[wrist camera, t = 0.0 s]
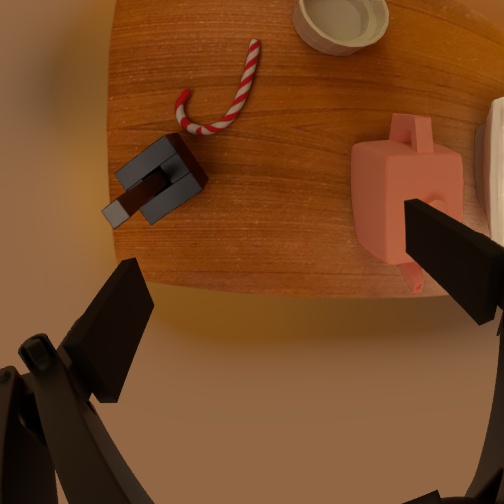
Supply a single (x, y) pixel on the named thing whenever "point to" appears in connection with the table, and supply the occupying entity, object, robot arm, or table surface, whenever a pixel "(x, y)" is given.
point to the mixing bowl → (340, 24)
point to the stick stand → (175, 167)
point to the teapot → (402, 188)
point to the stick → (134, 199)
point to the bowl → (491, 169)
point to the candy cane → (235, 106)
